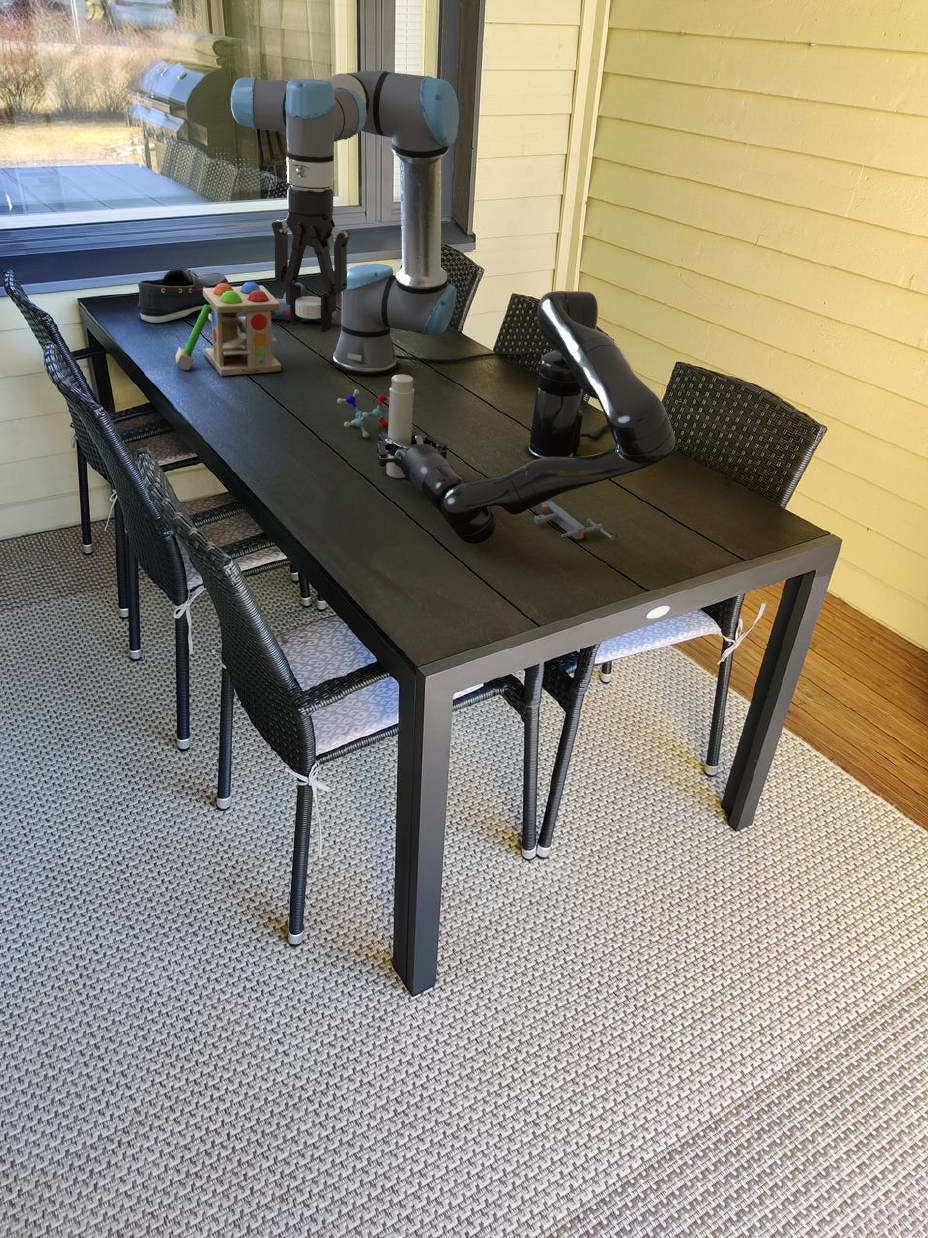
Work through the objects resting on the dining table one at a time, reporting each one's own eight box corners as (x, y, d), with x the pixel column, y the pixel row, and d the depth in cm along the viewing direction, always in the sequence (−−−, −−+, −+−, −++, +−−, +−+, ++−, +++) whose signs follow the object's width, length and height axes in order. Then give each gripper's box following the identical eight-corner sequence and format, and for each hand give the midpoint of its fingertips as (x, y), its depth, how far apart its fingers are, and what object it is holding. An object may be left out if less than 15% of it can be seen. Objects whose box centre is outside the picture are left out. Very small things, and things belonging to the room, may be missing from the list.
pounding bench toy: (183, 379, 220) (176, 299, 210) (169, 357, 231) (162, 280, 221) (282, 371, 230) (280, 294, 220) (264, 350, 240) (262, 276, 230)
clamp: (523, 504, 179) (568, 495, 184) (522, 515, 180) (566, 506, 185) (570, 543, 169) (616, 532, 173) (569, 554, 170) (614, 543, 174)
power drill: (344, 304, 276) (335, 327, 259) (277, 298, 275) (264, 321, 258) (344, 285, 273) (335, 306, 256) (277, 279, 272) (264, 300, 255)
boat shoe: (248, 301, 272) (246, 262, 267) (158, 325, 248) (153, 283, 243) (214, 293, 278) (211, 255, 272) (123, 315, 254) (117, 274, 248)
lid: (303, 320, 170) (302, 306, 168) (290, 310, 173) (290, 297, 172) (331, 317, 172) (331, 303, 171) (318, 307, 176) (318, 294, 175)
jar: (388, 466, 193) (392, 372, 182) (411, 469, 193) (416, 375, 182) (384, 476, 189) (388, 381, 178) (408, 479, 189) (413, 383, 178)
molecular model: (383, 429, 198) (367, 381, 197) (344, 444, 202) (327, 397, 200) (405, 426, 209) (389, 380, 207) (367, 440, 212) (351, 395, 211)
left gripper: (249, 181, 160) (254, 322, 173) (351, 198, 156) (348, 342, 169) (271, 174, 166) (275, 312, 179) (370, 191, 162) (366, 330, 175)
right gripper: (392, 496, 176) (358, 456, 189) (463, 486, 182) (427, 448, 194) (393, 458, 172) (359, 420, 184) (467, 449, 178) (429, 412, 190)
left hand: (310, 326), depth 174 cm, fingers closed on lid, 5 cm apart
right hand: (394, 434), depth 189 cm, fingers closed on jar, 4 cm apart
